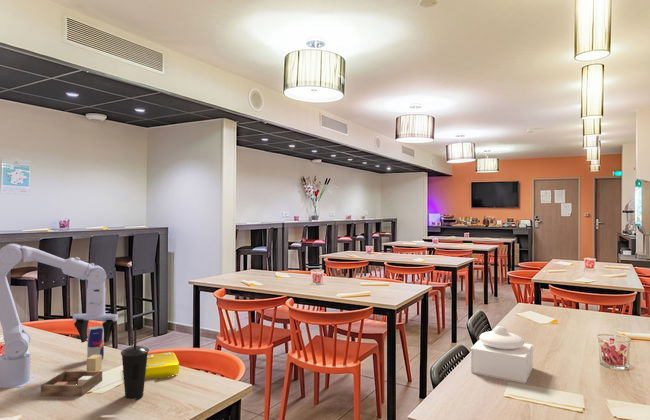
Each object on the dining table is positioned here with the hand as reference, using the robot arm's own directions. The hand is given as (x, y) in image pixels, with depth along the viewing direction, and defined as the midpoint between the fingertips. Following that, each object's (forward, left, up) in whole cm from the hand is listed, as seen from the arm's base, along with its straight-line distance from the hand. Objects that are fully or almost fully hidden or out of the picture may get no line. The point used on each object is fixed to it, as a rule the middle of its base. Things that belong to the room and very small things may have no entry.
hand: (95, 341), depth 150 cm
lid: (0, -1, -11) cm, 11 cm away
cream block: (+4, -12, -10) cm, 16 cm away
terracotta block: (-1, -17, -10) cm, 20 cm away
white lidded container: (+141, +5, -11) cm, 142 cm away
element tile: (+20, +1, -11) cm, 23 cm away
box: (+1, -15, -10) cm, 18 cm away
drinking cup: (+22, -20, -10) cm, 31 cm away
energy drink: (-6, +12, -10) cm, 17 cm away
